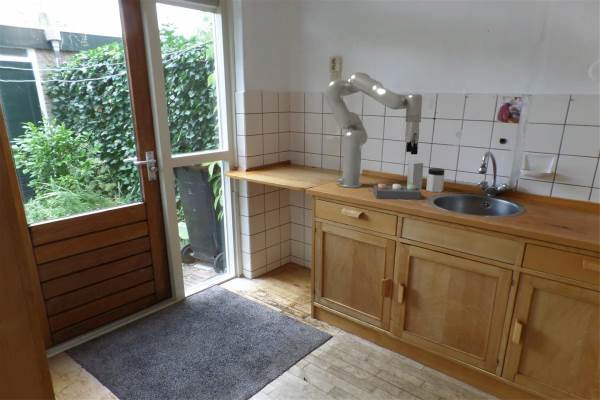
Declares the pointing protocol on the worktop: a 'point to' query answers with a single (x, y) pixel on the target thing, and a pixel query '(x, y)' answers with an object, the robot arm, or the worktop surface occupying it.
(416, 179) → the skincare box
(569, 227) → the worktop surface
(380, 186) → the terracotta button
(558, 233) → the worktop surface
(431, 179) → the jar
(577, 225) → the worktop surface
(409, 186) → the sage button
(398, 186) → the cream button
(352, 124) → the robot arm
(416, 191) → the button panel
